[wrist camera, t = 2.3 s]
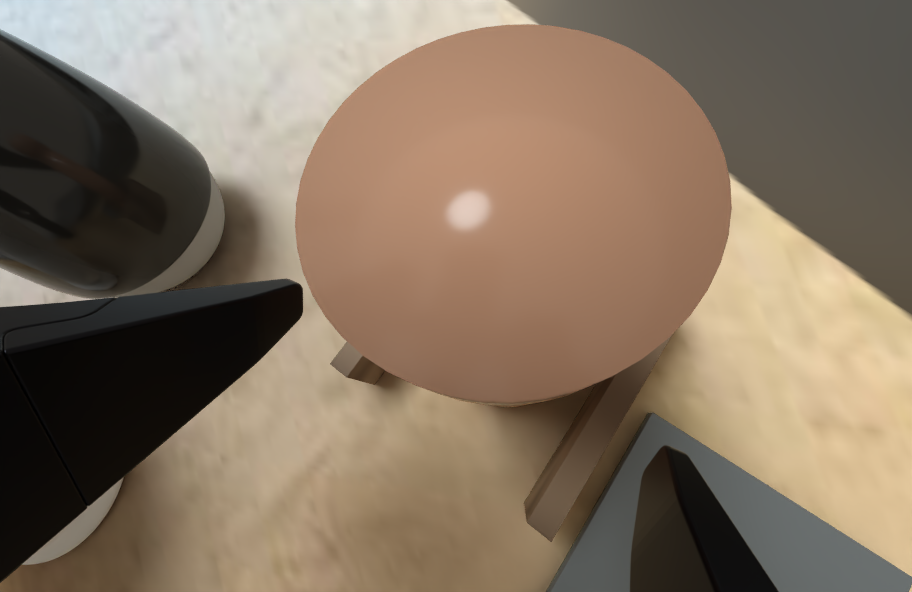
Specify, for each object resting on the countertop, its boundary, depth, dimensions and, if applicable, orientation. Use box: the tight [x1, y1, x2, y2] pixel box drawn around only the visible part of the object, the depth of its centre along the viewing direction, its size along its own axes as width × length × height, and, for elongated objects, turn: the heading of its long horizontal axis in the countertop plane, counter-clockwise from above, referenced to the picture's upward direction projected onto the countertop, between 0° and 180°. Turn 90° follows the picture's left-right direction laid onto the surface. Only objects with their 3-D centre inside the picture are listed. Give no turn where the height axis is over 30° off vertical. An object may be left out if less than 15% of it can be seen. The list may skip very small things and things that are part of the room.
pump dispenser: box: [0, 29, 225, 299], centre depth 17 cm, size 10×10×15 cm
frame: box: [330, 335, 672, 542], centre depth 18 cm, size 11×11×4 cm
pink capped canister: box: [295, 25, 732, 407], centre depth 13 cm, size 7×7×14 cm
